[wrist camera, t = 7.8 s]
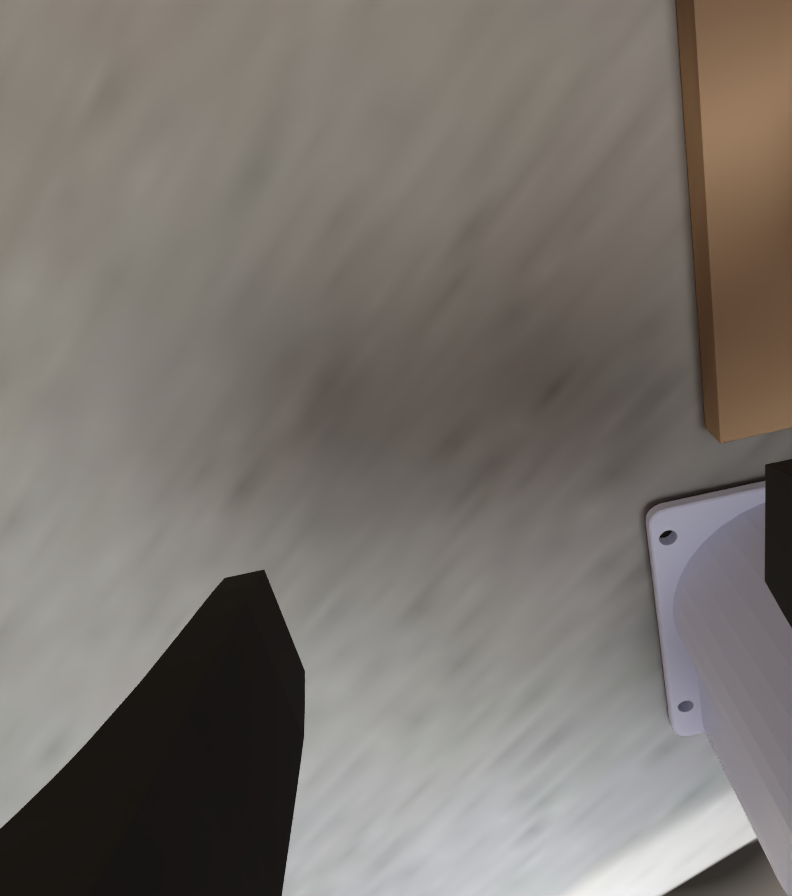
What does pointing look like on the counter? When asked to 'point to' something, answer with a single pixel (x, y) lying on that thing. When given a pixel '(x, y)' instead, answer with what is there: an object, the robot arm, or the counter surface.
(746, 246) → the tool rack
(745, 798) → the robot arm
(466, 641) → the counter surface
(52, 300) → the counter surface
